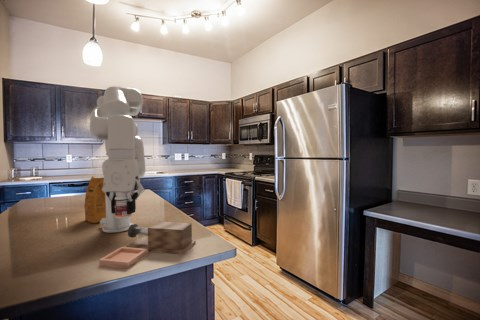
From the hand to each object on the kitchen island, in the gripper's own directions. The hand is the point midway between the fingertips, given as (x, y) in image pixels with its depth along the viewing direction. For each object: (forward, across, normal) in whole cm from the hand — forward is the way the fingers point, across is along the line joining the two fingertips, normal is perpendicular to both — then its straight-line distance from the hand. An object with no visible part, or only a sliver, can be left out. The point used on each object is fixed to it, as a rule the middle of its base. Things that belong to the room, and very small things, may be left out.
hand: (123, 212), depth 76 cm
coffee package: (+15, -44, +37) cm, 60 cm away
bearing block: (+15, +6, +12) cm, 20 cm away
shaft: (+13, 0, +12) cm, 17 cm away
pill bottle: (+2, 0, 0) cm, 2 cm away
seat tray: (+15, 0, 0) cm, 15 cm away
